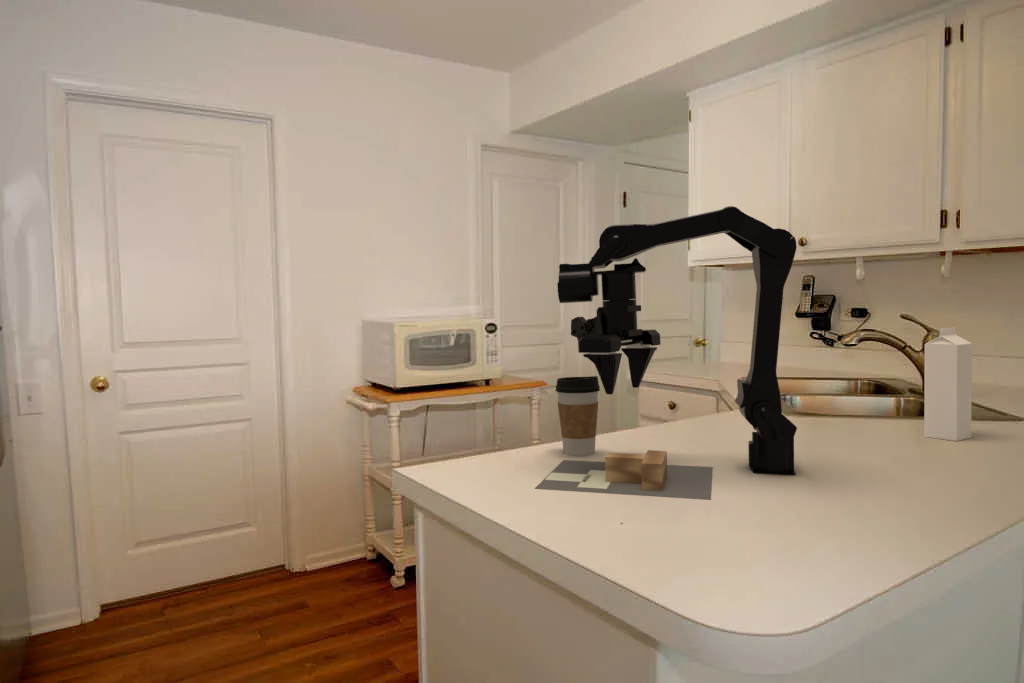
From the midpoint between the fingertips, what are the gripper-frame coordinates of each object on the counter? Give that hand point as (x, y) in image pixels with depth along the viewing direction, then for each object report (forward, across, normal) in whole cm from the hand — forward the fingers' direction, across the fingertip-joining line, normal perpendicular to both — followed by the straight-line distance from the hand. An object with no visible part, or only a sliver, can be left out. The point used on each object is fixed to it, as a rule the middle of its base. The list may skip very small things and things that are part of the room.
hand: (623, 390), depth 110 cm
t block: (+13, +8, +6) cm, 16 cm away
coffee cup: (+14, -4, -13) cm, 19 cm away
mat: (+14, +6, +4) cm, 15 cm away
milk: (+15, -56, +42) cm, 71 cm away
